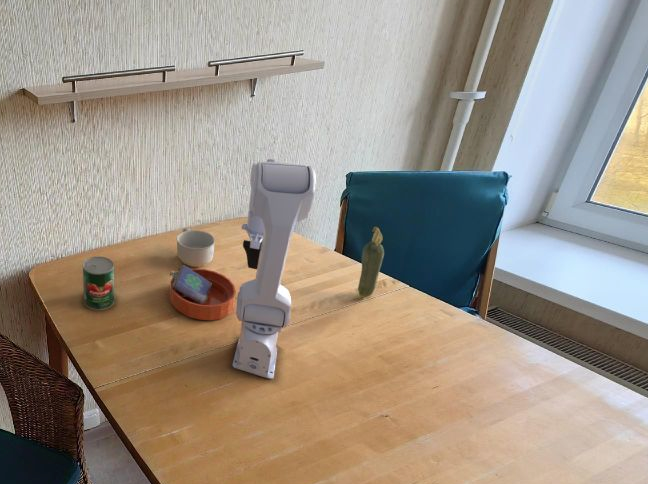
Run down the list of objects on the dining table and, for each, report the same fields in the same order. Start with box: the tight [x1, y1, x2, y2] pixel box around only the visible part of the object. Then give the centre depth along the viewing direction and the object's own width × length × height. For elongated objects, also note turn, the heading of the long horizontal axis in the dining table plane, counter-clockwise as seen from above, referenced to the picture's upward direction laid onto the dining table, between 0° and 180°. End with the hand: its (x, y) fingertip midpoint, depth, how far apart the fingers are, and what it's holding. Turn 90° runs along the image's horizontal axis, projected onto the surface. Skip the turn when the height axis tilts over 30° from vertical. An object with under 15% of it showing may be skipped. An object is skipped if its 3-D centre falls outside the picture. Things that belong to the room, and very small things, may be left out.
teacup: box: [176, 227, 216, 268], centre depth 127 cm, size 14×11×8 cm
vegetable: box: [357, 226, 385, 298], centre depth 105 cm, size 4×4×20 cm
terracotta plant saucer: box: [169, 268, 237, 321], centre depth 109 cm, size 16×16×4 cm
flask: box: [169, 264, 212, 305], centre depth 110 cm, size 9×3×11 cm
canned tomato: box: [81, 256, 115, 311], centre depth 109 cm, size 8×8×11 cm
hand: (254, 260), depth 108 cm, fingers open, 7 cm apart
